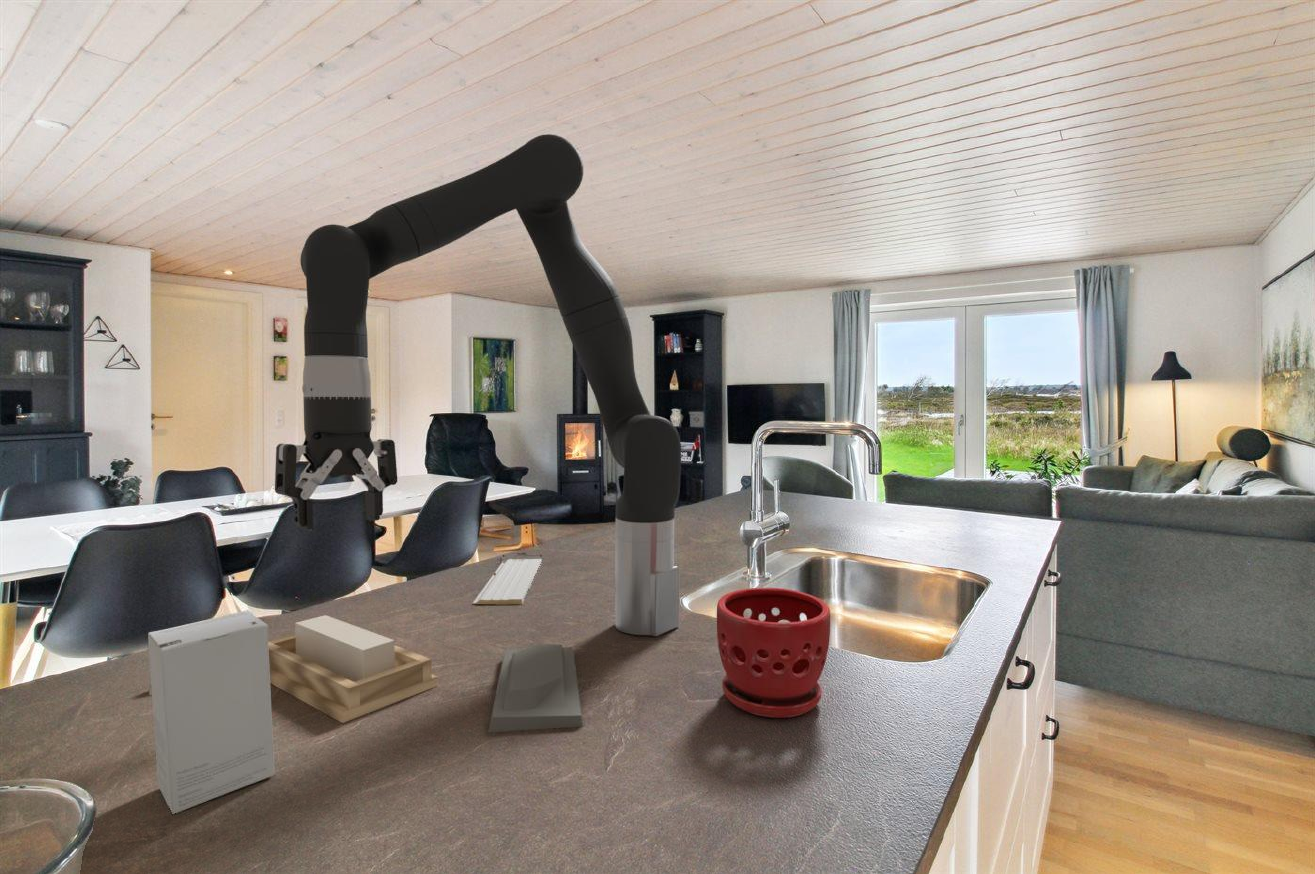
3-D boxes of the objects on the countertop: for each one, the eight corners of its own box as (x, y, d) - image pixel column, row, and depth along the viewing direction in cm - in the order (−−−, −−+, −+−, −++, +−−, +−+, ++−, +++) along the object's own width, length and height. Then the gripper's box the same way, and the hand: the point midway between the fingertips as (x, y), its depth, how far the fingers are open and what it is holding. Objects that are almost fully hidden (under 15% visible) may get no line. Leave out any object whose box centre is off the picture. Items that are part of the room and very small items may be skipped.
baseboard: (464, 608, 115) (522, 607, 115) (463, 592, 114) (522, 591, 115) (495, 565, 145) (541, 565, 145) (495, 552, 145) (541, 552, 145)
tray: (437, 685, 82) (437, 657, 81) (342, 723, 72) (342, 690, 72) (343, 646, 95) (343, 621, 94) (253, 673, 85) (252, 645, 85)
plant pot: (696, 688, 81) (697, 592, 81) (786, 672, 86) (788, 582, 86) (751, 738, 69) (753, 626, 69) (852, 716, 74) (855, 611, 74)
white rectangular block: (394, 680, 80) (394, 640, 80) (363, 692, 77) (363, 650, 77) (326, 651, 89) (325, 614, 89) (295, 660, 86) (295, 622, 86)
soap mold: (486, 738, 70) (486, 706, 70) (501, 664, 90) (501, 639, 90) (583, 731, 72) (583, 700, 72) (577, 660, 91) (577, 635, 91)
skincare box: (256, 755, 65) (253, 607, 65) (277, 778, 61) (273, 621, 61) (151, 790, 59) (146, 627, 59) (166, 819, 55) (160, 645, 54)
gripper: (292, 393, 73) (296, 537, 74) (407, 395, 85) (409, 519, 86) (262, 394, 78) (266, 530, 79) (374, 395, 89) (377, 514, 90)
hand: (340, 524), depth 82 cm, fingers open, 8 cm apart
